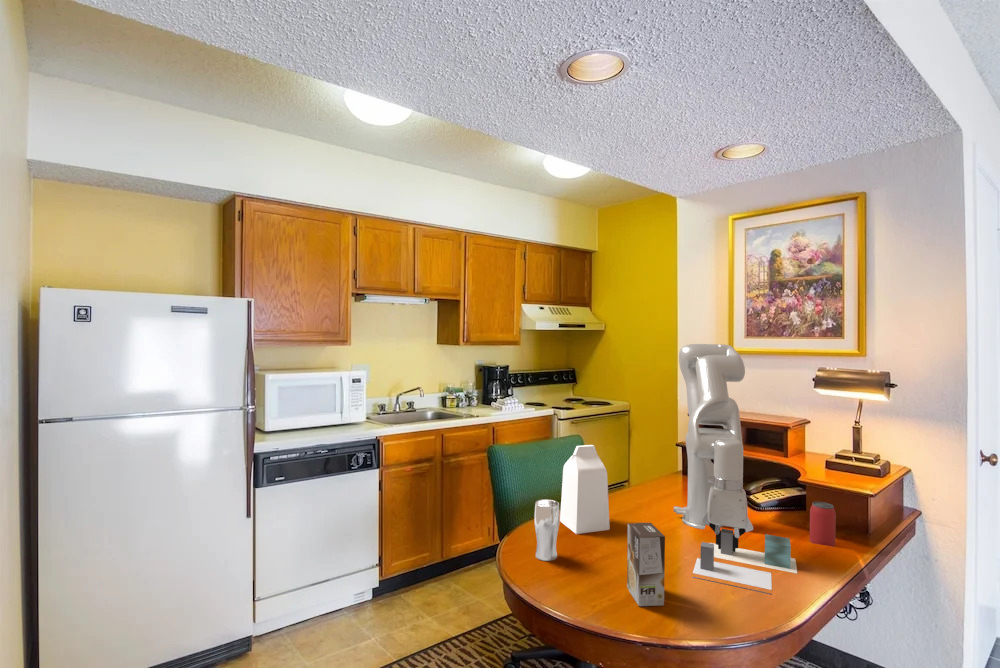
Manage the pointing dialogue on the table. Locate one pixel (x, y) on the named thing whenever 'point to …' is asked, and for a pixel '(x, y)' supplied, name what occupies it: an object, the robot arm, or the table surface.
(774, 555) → the block
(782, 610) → the table surface
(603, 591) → the table surface
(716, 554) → the strip
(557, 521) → the beer glass
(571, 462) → the milk
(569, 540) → the table surface
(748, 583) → the empty strip
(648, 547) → the coffee box
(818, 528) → the beer can
